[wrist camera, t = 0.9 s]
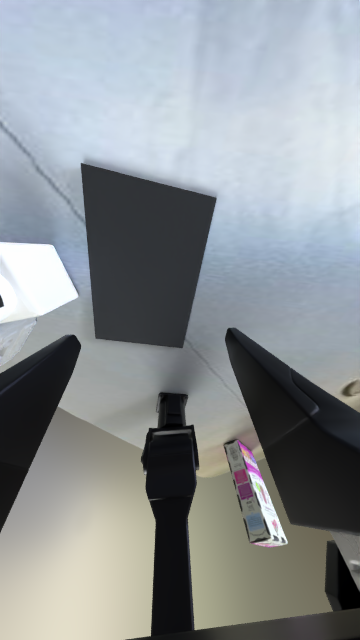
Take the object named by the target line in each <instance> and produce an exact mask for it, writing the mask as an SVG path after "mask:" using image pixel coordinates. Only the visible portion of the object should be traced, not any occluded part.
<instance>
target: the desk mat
mask: <svg viewBox="0 0 360 640" xmlns="http://www.w3.org/2000/svg"><path fill="white" fill-rule="evenodd" d="M81 171H82V183H83V195H84V207H85V218H86V230H87V242H88V254H89V266H90V278H91V290H92V302H93V314H94V326H95V337H96V339H105V340H114V341H123V342H132V343H141V344H150V345H159V346H168V347H177V348H183V343H184V339H185V335H186V330H187V326H188V321H189V317H190V313H191V308H192V304H193V299H194V295H195V291H196V286H197V282H198V277H199V273H200V269H201V264H202V260H203V255H204V251H205V247H206V242H207V238H208V234H209V229H210V225H211V220H212V216H213V212H214V207H215V203H216V198H215V197H211V196H207V195H203V194H199V193H195V192H192V191H188V190H184V189H180V188H176V187H172V186H168V185H164V184H160V183H157V182H153V181H149V180H145V179H141V178H137V177H133V176H129V175H125V174H121V173H118V172H114V171H110V170H106V169H102V168H98V167H94V166H90V165H86V164H83V163H81Z"/></svg>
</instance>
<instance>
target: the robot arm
mask: <svg viewBox="0 0 360 640" xmlns="http://www.w3.org/2000/svg"><path fill="white" fill-rule="evenodd" d="M225 342H226V346H227V350H228V354H229V358H230V362H231V365H232V368H233V371H234V374H235V376H236V379H237V382H238V384H239V387H240V390H241V392H242V395H243V398H244V400H245V403H246V406H247V408H248V411H249V414H250V417H251V419H252V422H253V425H254V427H255V430H256V433H257V435H258V438H259V441H260V443H261V446H262V449H263V452H264V454H265V457H266V460H267V462H268V465H269V468H270V470H271V473H272V476H273V478H274V481H275V484H276V487H277V489H278V492H279V494H280V497H281V500H282V503H283V505H284V508H285V511H286V513H287V516H288V518H289V521H290V523H291V524H293V525H298V526H304V527H309V528H315V529H321V530H327V531H330V532H331V534H332V536H333V538H334V540H332V541H327V553H326V578H325V592H326V595H327V597H328V600H329V602H330V605H331V607H332V610H333V612H327V613H320V614H312V615H305V616H297V617H290V618H283V619H275V620H268V621H260V622H253V623H247V624H246V623H245V624H238V625H231V626H223V627H216V628H209V629H201V630H194V615H193V599H192V582H191V566H190V549H189V534H188V533H189V532H188V514H189V510H190V507H191V503H192V500H193V496H194V492H195V488H196V484H197V482H196V470H199V458H198V449H197V443H196V437H195V431H194V425H191V426H186V420H185V406H186V403H187V399H188V395H186V394H172V393H160V394H159V398H158V404H157V409H156V412H157V413H159V416H158V428H149V431H148V433H147V436H146V443H145V447H144V450H143V453H142V456H141V462H142V464H143V469H144V475H146V493H147V496H148V499H149V501H150V505H151V508H152V511H153V514H154V517H155V520H156V529H155V553H154V577H153V600H152V624H151V636H149V637H142V638H134V639H127V640H360V413H359V412H357V411H356V410H354V409H353V408H351V407H349V406H348V405H346V404H345V403H343V402H342V401H340V400H338V399H337V398H335V397H334V396H332V395H331V394H329V393H327V392H326V391H324V390H323V389H321V388H320V387H318V386H317V385H315V384H313V383H312V382H310V381H309V380H308V379H306V378H305V377H303V376H302V375H300V374H299V373H298V372H296V371H295V370H293V369H292V368H290V367H289V366H288V365H286V364H285V363H284V362H282V361H281V360H279V359H278V358H277V357H275V356H274V355H272V354H271V353H270V352H268V351H267V350H265V349H264V348H263V347H261V346H260V345H258V344H257V343H256V342H254V341H253V340H252V339H250V338H249V337H247V336H246V335H245V334H243V333H242V332H240V331H239V330H238V329H236V328H228V329H227V333H226V337H225ZM80 349H81V344H80V342H79V341H78V339H77V338H76V336H75V335H65V336H63V337H61V338H60V339H58V340H56V341H55V342H53V343H51V344H50V345H48V346H46V347H44V348H43V349H41V350H39V351H38V352H36V353H34V354H33V355H31V356H29V357H28V358H26V359H24V360H22V361H21V362H19V363H17V364H16V365H14V366H12V367H11V368H9V369H7V370H5V371H4V372H2V373H0V532H1V530H2V528H3V526H4V523H5V521H6V519H7V517H8V515H9V512H10V510H11V508H12V505H13V503H14V501H15V499H16V497H17V495H18V492H19V490H20V488H21V486H22V484H23V481H24V479H25V477H26V475H27V473H28V470H29V468H30V466H31V464H32V461H33V459H34V457H35V455H36V452H37V450H38V448H39V446H40V444H41V442H42V439H43V437H44V435H45V433H46V430H47V428H48V426H49V424H50V422H51V419H52V417H53V415H54V413H55V411H56V408H57V406H58V404H59V402H60V400H61V397H62V395H63V393H64V391H65V389H66V386H67V384H68V382H69V380H70V378H71V375H72V373H73V370H74V368H75V365H76V361H77V358H78V355H79V352H80Z"/></svg>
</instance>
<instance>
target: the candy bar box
mask: <svg viewBox="0 0 360 640" xmlns="http://www.w3.org/2000/svg"><path fill="white" fill-rule="evenodd" d="M224 448H225V452H226V455H227V459H228V463H229V467H230V470H231V474H232V478H233V481H234V485H235V489H236V493H237V496H238V500H239V504H240V508H241V511H242V515H243V519H244V523H245V527H246V531H247V534H248V538H249V542H250V543H252V544H256V545H260V546H265V547H276V546H281V545H284V544H287V543H288V542H287V540H286V537H285V535H284V532H283V530H282V527H281V525H280V522H279V520H278V517H277V515H276V512H275V509H274V507H273V505H272V502H271V499H270V497H269V494H268V492H267V489H266V487H265V484H264V482H263V479H262V477H261V474H260V472H259V469H258V466H257V464H256V461H255V459H254V456H253V454H252V452H251V451H250V450H249V449H248V448H246V447H245V446H244V445H243V444H242V443H241V442H239V441H238V440H234V441H232V442H229V443H226V444H224Z"/></svg>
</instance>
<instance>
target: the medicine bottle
mask: <svg viewBox="0 0 360 640" xmlns="http://www.w3.org/2000/svg"><path fill="white" fill-rule="evenodd" d="M76 298H78V293H77V291H76V289H75V287H74V285H73V283H72V281H71V279H70V277H69V275H68V274H67V272H66V270H65V268H64V266H63V264H62V262H61V260H60V258H59V256H58V254H57V252H56V250H55V248H54V246H52V245H50V244H30V243H9V242H0V324H1V323H6V322H11V321H16V320H21V319H27V318H32V317H37V316H42V315H44V314H46V313H48V312H50V311H52V310H54V309H56V308H58V307H60V306H62V305H64V304H66V303H68V302H70V301H72V300H74V299H76Z"/></svg>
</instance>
